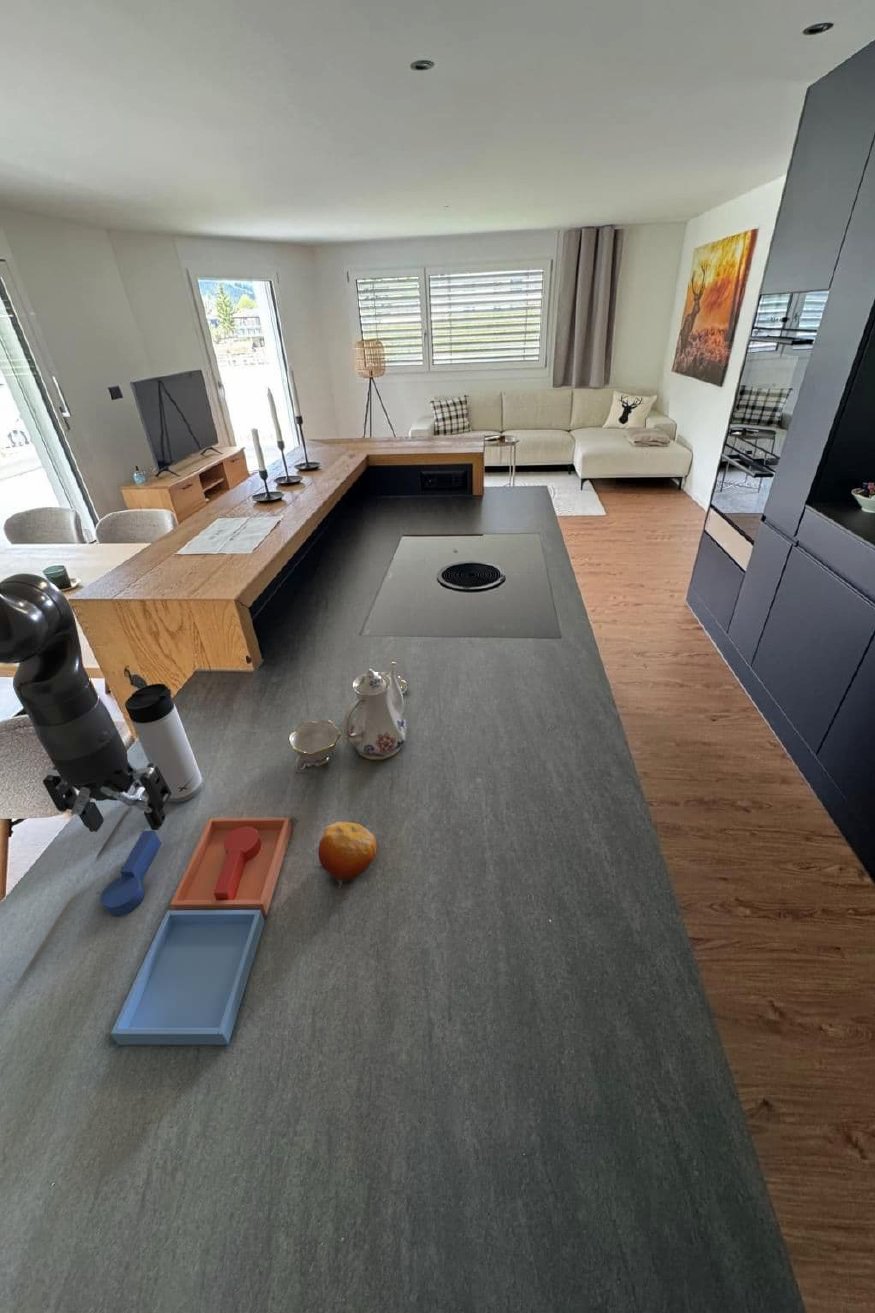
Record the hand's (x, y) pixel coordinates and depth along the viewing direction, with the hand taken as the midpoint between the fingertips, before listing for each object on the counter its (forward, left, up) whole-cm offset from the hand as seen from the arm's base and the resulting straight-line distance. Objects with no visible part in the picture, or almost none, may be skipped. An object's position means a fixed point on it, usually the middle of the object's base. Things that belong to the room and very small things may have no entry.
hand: (128, 826), depth 76 cm
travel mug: (0, +14, -8) cm, 16 cm away
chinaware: (+29, +26, -8) cm, 40 cm away
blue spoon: (0, -3, -8) cm, 8 cm away
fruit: (+30, -1, -8) cm, 31 cm away
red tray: (+14, -1, -8) cm, 16 cm away
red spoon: (+14, -1, -7) cm, 16 cm away
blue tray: (+14, -16, -8) cm, 23 cm away
